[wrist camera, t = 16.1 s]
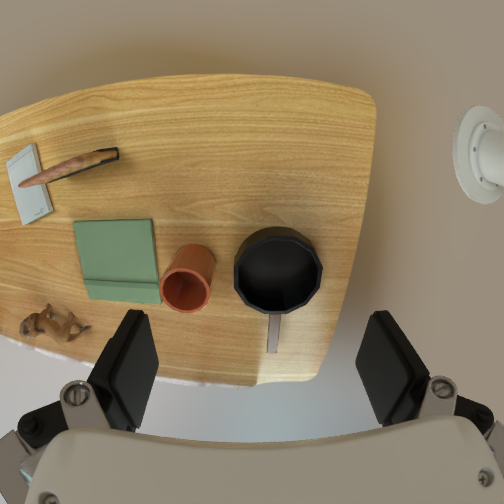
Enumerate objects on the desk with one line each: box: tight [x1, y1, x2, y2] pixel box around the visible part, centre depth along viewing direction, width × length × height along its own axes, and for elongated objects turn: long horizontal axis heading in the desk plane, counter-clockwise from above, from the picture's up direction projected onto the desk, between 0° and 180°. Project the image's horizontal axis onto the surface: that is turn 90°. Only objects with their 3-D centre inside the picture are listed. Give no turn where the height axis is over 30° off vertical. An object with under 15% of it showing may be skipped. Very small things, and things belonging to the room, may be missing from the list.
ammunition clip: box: [18, 147, 119, 188], centre depth 28 cm, size 11×2×12 cm, turn 98°
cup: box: [159, 244, 216, 313], centre depth 37 cm, size 6×6×8 cm
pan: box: [234, 227, 323, 353], centre depth 41 cm, size 12×20×4 cm, turn 179°
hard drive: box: [6, 143, 53, 226], centre depth 33 cm, size 2×8×12 cm
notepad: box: [73, 219, 162, 304], centre depth 40 cm, size 14×14×1 cm
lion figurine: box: [19, 304, 90, 346], centre depth 40 cm, size 15×5×9 cm, turn 82°
